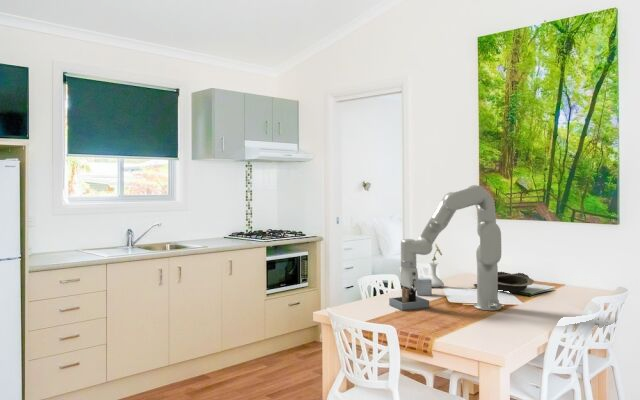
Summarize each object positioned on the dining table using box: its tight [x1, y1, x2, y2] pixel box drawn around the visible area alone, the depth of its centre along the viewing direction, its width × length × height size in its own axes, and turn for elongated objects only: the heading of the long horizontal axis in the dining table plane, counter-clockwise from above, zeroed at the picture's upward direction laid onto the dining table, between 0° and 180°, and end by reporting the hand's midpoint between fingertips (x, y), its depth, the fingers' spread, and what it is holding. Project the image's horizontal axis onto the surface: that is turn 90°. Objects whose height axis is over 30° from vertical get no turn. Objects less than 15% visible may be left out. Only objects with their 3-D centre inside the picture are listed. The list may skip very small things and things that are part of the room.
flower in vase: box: [429, 243, 445, 288], centre depth 310 cm, size 13×11×25 cm
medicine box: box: [416, 277, 433, 296], centre depth 289 cm, size 8×4×9 cm, turn 84°
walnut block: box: [401, 286, 417, 303], centre depth 263 cm, size 5×5×7 cm
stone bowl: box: [498, 271, 535, 294], centre depth 295 cm, size 25×25×9 cm
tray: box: [388, 295, 430, 312], centre depth 263 cm, size 13×15×4 cm
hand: (409, 300), depth 263 cm, fingers closed on walnut block, 5 cm apart
